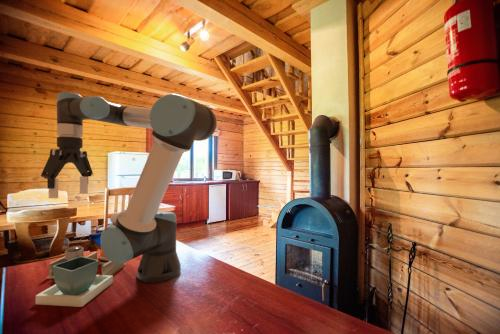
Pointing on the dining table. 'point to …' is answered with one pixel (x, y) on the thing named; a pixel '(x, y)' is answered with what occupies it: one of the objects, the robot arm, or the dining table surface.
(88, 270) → the flower pot
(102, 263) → the holder
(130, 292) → the dining table surface
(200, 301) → the dining table surface
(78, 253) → the canister
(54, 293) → the tray
